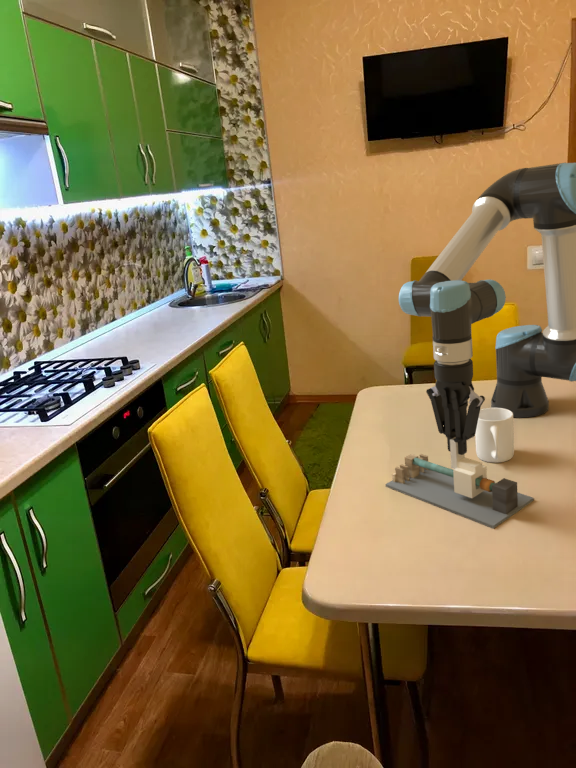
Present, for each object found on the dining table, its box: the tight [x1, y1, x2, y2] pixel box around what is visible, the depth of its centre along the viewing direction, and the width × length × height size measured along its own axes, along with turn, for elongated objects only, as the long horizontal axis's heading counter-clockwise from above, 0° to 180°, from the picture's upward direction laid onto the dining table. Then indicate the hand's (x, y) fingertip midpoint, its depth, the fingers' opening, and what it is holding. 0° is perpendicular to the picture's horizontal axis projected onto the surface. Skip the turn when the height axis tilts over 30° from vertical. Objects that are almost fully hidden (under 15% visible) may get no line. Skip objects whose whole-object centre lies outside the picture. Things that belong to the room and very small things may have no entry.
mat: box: [385, 469, 535, 530], centre depth 133 cm, size 14×28×1 cm, turn 38°
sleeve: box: [453, 457, 488, 498], centre depth 128 cm, size 5×4×7 cm
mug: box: [474, 407, 515, 464], centre depth 144 cm, size 9×12×11 cm
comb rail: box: [391, 453, 518, 514], centre depth 132 cm, size 10×27×6 cm, turn 38°
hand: (458, 466), depth 130 cm, fingers closed
